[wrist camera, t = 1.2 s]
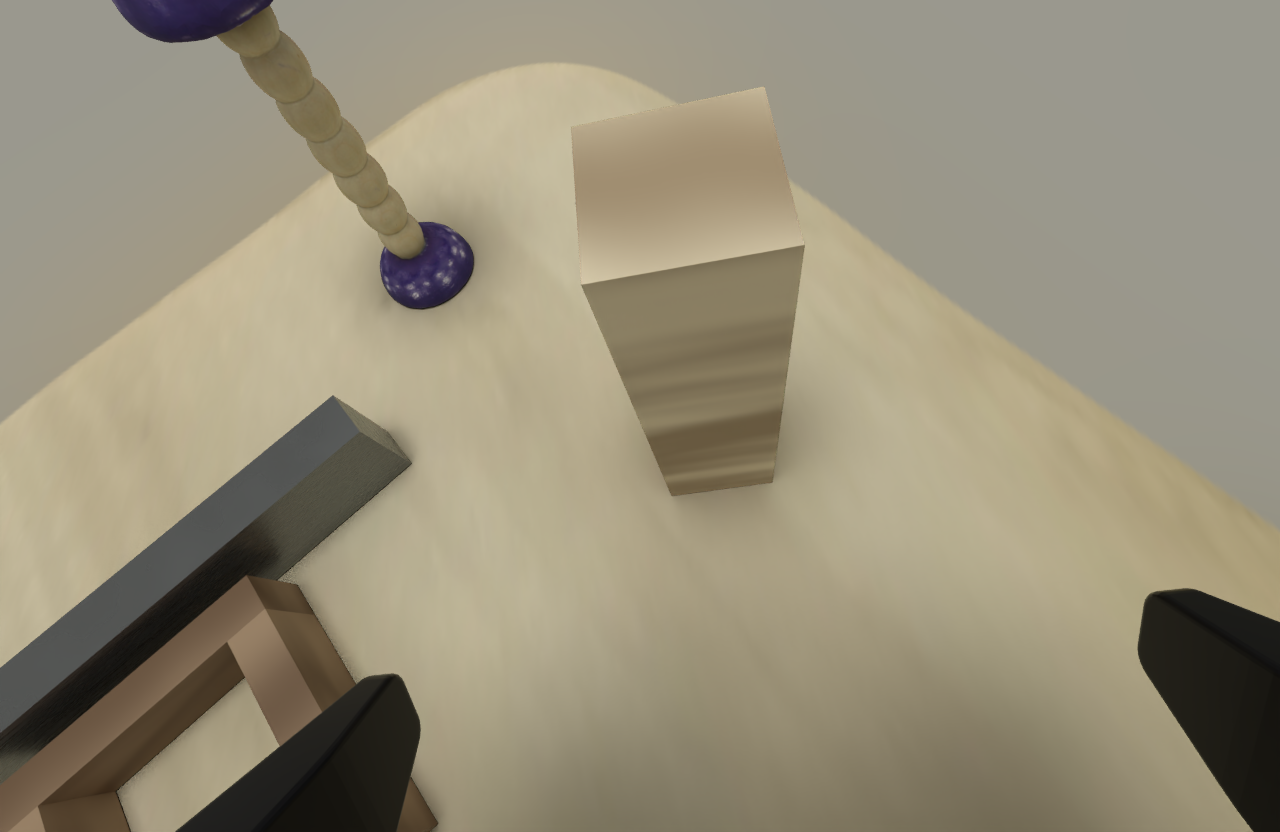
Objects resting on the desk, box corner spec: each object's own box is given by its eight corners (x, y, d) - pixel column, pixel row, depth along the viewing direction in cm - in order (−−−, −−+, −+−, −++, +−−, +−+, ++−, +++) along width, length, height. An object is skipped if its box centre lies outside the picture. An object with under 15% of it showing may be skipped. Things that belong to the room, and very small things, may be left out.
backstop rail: (411, 463, 24) (359, 431, 21) (-96, 900, 20) (-251, 943, 17) (386, 430, 25) (333, 395, 21) (-106, 847, 21) (-257, 878, 18)
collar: (437, 823, 19) (395, 844, 16) (166, 1092, 17) (77, 1156, 15) (296, 584, 23) (246, 574, 20) (64, 786, 21) (-18, 800, 19)
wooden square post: (772, 482, 21) (804, 244, 9) (671, 495, 22) (581, 284, 10) (755, 391, 23) (764, 86, 11) (661, 405, 23) (571, 126, 11)
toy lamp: (482, 220, 28) (176, -300, 13) (489, 301, 26) (140, -199, 11) (387, 246, 29) (-18, -232, 13) (387, 327, 27) (-85, -123, 12)
